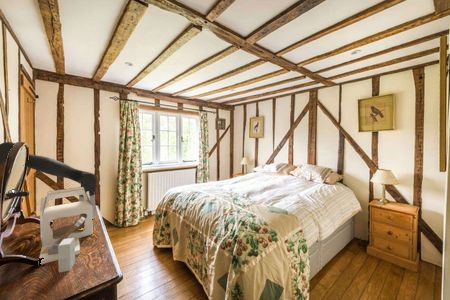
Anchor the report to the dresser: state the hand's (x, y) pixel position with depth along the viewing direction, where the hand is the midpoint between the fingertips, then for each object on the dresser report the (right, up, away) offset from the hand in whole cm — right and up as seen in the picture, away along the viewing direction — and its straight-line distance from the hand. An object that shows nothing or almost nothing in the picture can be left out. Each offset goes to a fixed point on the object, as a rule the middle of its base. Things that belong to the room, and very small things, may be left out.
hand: (28, 193), depth 95 cm
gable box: (+3, -29, +19) cm, 35 cm away
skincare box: (+25, -31, -8) cm, 41 cm away
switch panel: (+12, -30, +4) cm, 33 cm away
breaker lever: (+13, -25, +4) cm, 28 cm away
